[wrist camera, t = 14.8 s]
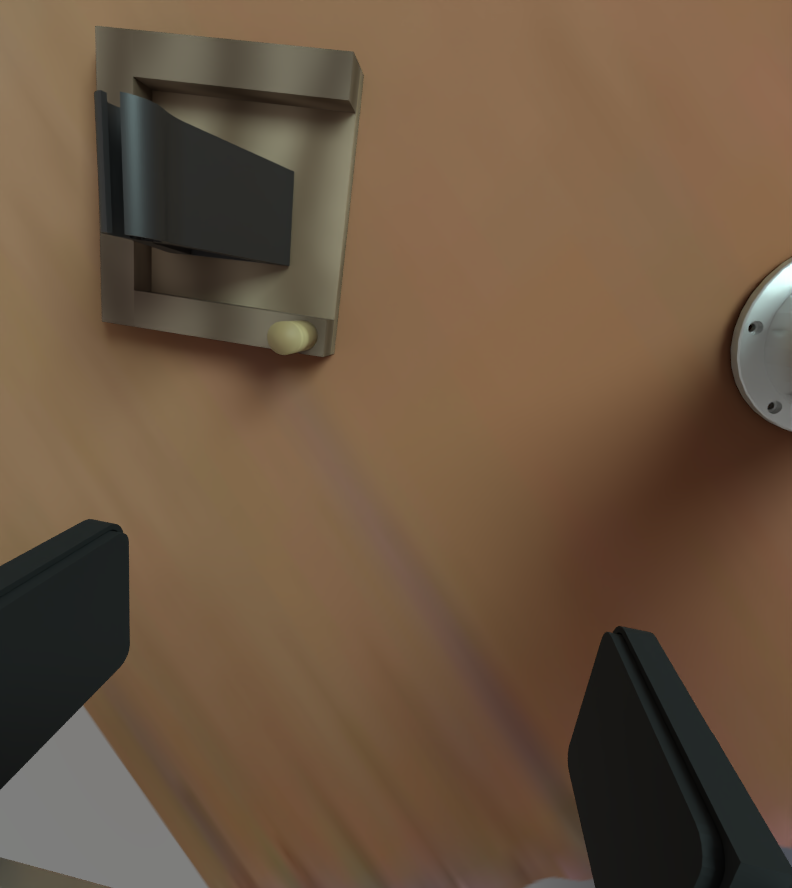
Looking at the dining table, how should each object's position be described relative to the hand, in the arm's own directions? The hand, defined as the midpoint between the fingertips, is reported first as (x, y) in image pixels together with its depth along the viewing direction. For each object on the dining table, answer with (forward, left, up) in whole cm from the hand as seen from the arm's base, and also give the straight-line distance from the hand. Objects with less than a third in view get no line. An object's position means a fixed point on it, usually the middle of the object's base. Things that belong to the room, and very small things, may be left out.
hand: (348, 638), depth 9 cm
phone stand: (+16, -10, -28) cm, 34 cm away
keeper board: (+17, -11, -28) cm, 35 cm away
